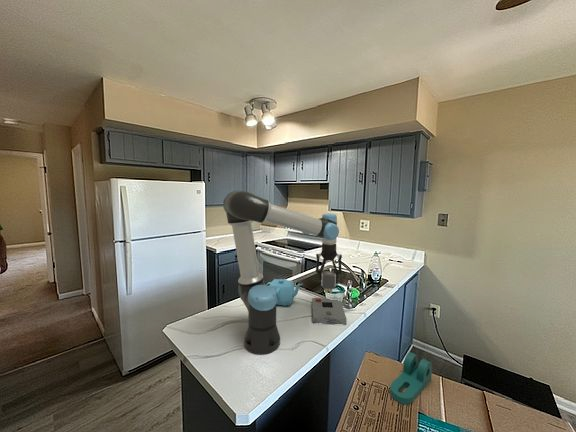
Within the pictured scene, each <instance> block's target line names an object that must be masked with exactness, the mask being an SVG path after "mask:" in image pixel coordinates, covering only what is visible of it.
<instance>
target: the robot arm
mask: <svg viewBox="0 0 576 432" xmlns="http://www.w3.org/2000/svg"><path fill="white" fill-rule="evenodd" d="M222 206H223V210H224V212H225V213H226V220H227V224H228V225H229V226H231V227H232V232H233V240H234V245H235V251H236V254H237V262H238V269H239V275H240V276H239V278H238V280H237V282H238V289H237V290H238V295H239V299H240V300H241V301H242V303H243V304H244V305H245V308H246V309H247V313H248V327H247V330H246V333H245V336H244V339H243V340H244V348H245V350H247V351H248V352H250V353H251V354H254V355H268V354H270V353H273V352H274V351H277V349H278V348H279V347H280V345H281V335H280V332H279V329H278V325H277V304H276V302H277V298H276V292H275V290H274V289H273V288H272V287H270V286H269V285H268V286H267V285H266V284H265V279H264V275H263V273H261V272H260V268H259V263H258V261H259V260H258V256H257V249H256V242H255V236H254V230H253V225H252V223H253V222H257V223H260V224H263V223H269V224H273V225H275V226H280V227H284V228H287V229H291V230H295V231H297V232H301V233H302V234H303V235H312V236H315V237H318V238H321V252H320V253H316V254H315V256H316V257H315V258H316V265H315V273H316V274H319V275H318V279H319V280H320V282H321V283H320V285H321V287H323V273H322V271H324V269H325V265H326V262H329V261H330V262H332V266H333V270H334V274H335V288H336V285H337V283H336V282H337V281H339V274H342V270H343V269H342V258H343V255H342V254H341V253H338V252H337V241H338V240H337V238H338V236H339V235H340V230H339V226H338V217H337V214H335V213H323V214H322V216H321V218H316V217H313V216H310V215H307V214H303V213H300V212H298V211H294V210H292V209H289V208H286V207H282V206H279V205H275V204H273V203H270V201H269V199H265V198H262V197H260V196H258V195H255V194H253V193H252V192H250V191H246V190H240V189H237V190H232V191H230V192H228V193H227V194H226V195H225V196H224V198H223V203H222ZM321 257H322V258H323V259H322V263H321V265H320V259H321ZM336 257H337V261H338V262H337V264H338V268H337V265H336V262H335V259H336Z"/></svg>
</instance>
